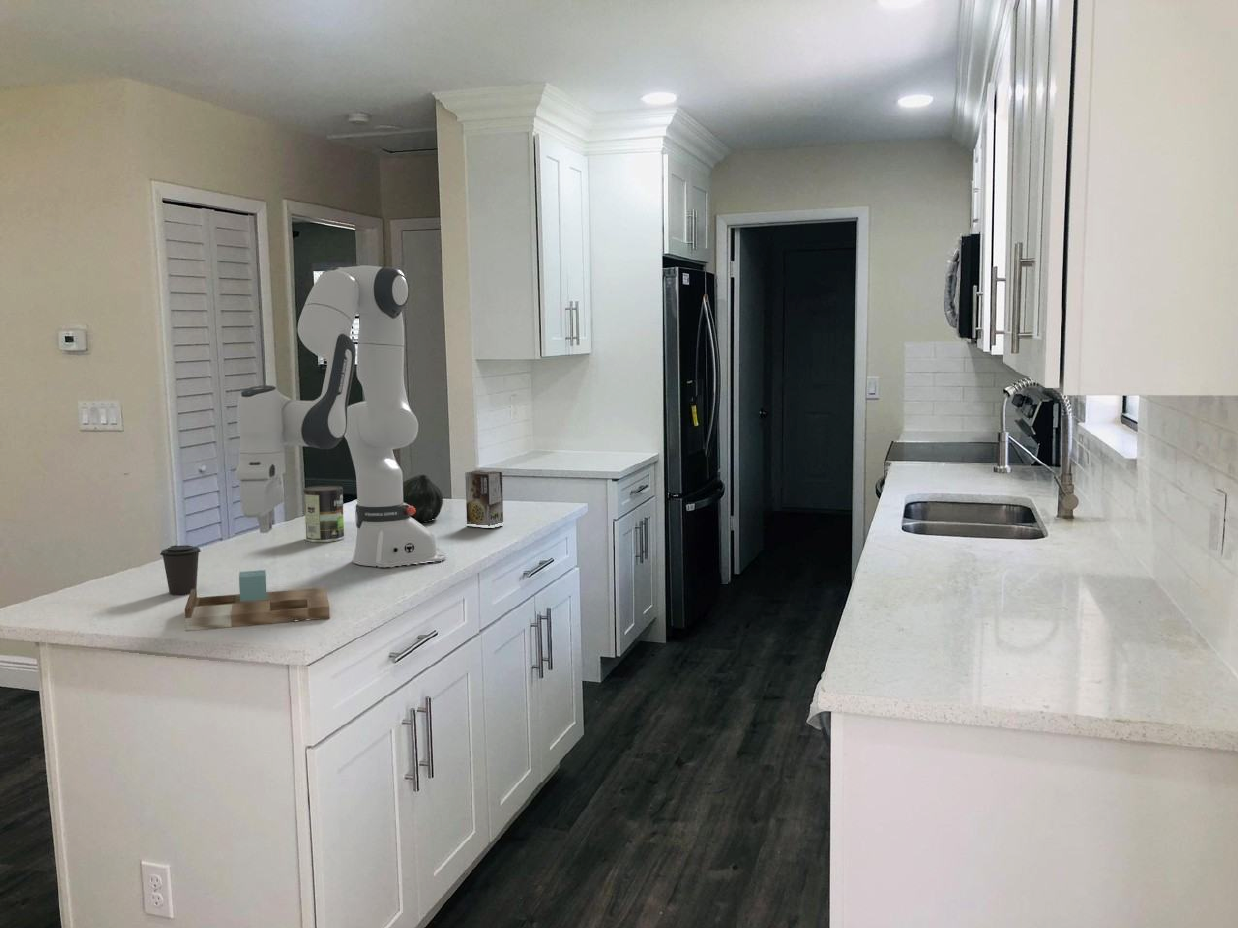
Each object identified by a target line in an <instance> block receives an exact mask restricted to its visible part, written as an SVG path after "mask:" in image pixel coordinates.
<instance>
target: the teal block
mask: <svg viewBox="0 0 1238 928" xmlns="http://www.w3.org/2000/svg"><path fill="white" fill-rule="evenodd" d="M238 573H239V575H238V580H239V581H238V585H239V589H238V590H239V594H240V602H246V601H259V600H267V593H266V592H267V576H266V575H267V574H266V573H267V572H266V569H262V570H248V571H239V572H238Z"/></svg>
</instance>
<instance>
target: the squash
mask: <svg viewBox="0 0 1238 928" xmlns="http://www.w3.org/2000/svg"><path fill="white" fill-rule="evenodd" d="M403 502H404V503H406V504H408V505H410V506H413V507H414V508H415V510H416V511H415V513H414V514H413V515H412V516H411V517H412V518H413V519H415V520H416V521H417V522H419V520H420V522H421V521H428V522H430V521H429V520H432V519H434V520H436V519H437V518H438V517H439V515H440V513H441V511H442V507H443V505H444V496H443V492H442V491H441V489H440V487H439V486H438V485H437V483H435V482H434V481H433V480H432V479H431V478H430V477H429V476H427V475H426V474H425V473H424V474H418V475H416V476H413V477H410V478H409V479H407V480H405V481H403ZM432 521H433V520H432Z"/></svg>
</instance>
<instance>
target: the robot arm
mask: <svg viewBox="0 0 1238 928" xmlns="http://www.w3.org/2000/svg"><path fill="white" fill-rule="evenodd" d="M409 296H410V285H409V281H408V278H407V277H406V276H405V274H404V272H403V271H401V270H400V269H397V268H395V267H390V266H383V267H382V266H376V265H363V264H362V265H358V266H357V265H356V266H347V267H340V266H335V267H331V268H328V269H326V270H325V271H323V272H322V273H321V274H320V276H319V277H318V278H317V280H316V282H315V283H314V284H313V286H312V288H311V290H310V291H309V294H308V296H307V298H306V299H305V303H304V306H303V308H302V311H301V314H300V315H299V319H298V323H297V334H298V338H299V340H300V341H301V342H302V344H303V345H304V347H305V348H306V349H307V350H309V352H311V353H313V354H315V356H317V357H320V358H321V359H324V360H326V369H325V375H324V380H323V386H322V392H321V395H320V396H318V398H316V399H314V400H299V399H292V398H289V397H288V396H285V395H283V394H282V393H281V392H280V391H279V389H278V388H277V387H276V386H273V385H266V384H265V385H257V386H251V387H248V388H245V389H244V390H242V391H241V392H240V394H239V395H238V400H237V406H236V408H237V409H236V412H237V413H236V425H237V428H236V429H237V433H238V436H239V447H238V448H239V449H238V465H237V466H236V470H235V479H236V480H238V481H239V484H238V486H239V488H238V489H239V498H240V505H241V511H242V515H243V517H244V518H245V519H246V518H248V519H249V518H251V519H253V518H254V519H255V518H256V519H257V522H258V525H259V526H258V527H259V533H261V534H267V533H269V532H270V531H272V529H273V518H274V509H275V508H276V507H278V506H279V505H280V504H282V503H283V502H284V501H285V489H284V487H285V486H284V478H283V474H286V459H285V446H294V447H296V446H297V447H310V448H315V449H320V450H321V449H322V450H330V449H333V448H335V447H336V446H337V445H338V444H340V442H341V441H342V439H343V438H345V440H346V441H347V445H348V448H349V451H350V454H351V459H352V462H353V467H354V471H355V479H356V482H355V483H356V484H355V485H356V498H357V499H356V503H357V504H355V510H354V515H355V516H354V517H355V519H354V521H355V527H356V539H355V548H354V553H353V557H352V560H351V562H352V563H353V564H355V565H356V564H357V565H359V566H366V567H367V566H369V567H376V566H378V567H377V568H380V567H390V568H396V567H395V566H399V567H402V566H401V565H407V566H409V565H408V564H414V563H420V562H426V561H441V560H443V559H444V558H445V557H446V553H445V551H443V550H442V549H440V548H437V544H436V543H437V542H436V538H435V536H434V533H433V532H432V531H431V530H430V529H428V528H427V527H425V526H424V525H423V524H422V523H420V522H419V521H416V520H415V519H413V518H412V517H411V516H412V515H413V514H414V513H415V511H416V510H415V508H414V507H413V506H410V505H408V504H406V503H404V502H403V482H404V481H403V479H404V478H403V471H402V469H401V467H400V465H399V464H398V462H397V460H396V458H395V455H394V451H393V450H396V449H398V450H399V449H402V448H405V447H407V446H409V445H410V444H412V443H413V442H414V441H415V439H416V438H417V435H418V433H419V422H418V419H417V417H416V415H415V414H414V412H413V411H412V409H411V407H410V403H409V399H408V395H407V391H406V387H405V378H404V377H405V375H404V374H405V373H404V372H405V369H404V367H405V365H404V364H405V326H404V317H403V312H402V311H403V310H404V309H405V307H406V305H407V303H408V300H409ZM357 315H359V317H360V318H359V319H360V320H359V325H358V333H357V345H355V342H354V341H353V339H351V332H352V327H353V324H354V322H355V317H356V316H357ZM356 346H357V348H356ZM356 349H357V350H356ZM355 364H356V371H355V372H356V378H357V380H358V381H359V383H360V385H361V387H362V391H363V395H364V401H359V402H356V403H353V404H350V405H349V401H350V400H349V399H350V394H351V389H352V383H353V377H354V370H355ZM284 445H285V446H284ZM445 559H446V558H445ZM443 561H444V560H443ZM441 562H442V561H441Z"/></svg>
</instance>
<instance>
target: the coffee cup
mask: <svg viewBox="0 0 1238 928" xmlns="http://www.w3.org/2000/svg"><path fill="white" fill-rule="evenodd" d="M200 552H202V551H201V549H200V548H199V547H197V546H192V545H187V544H186V545H185V544H184V545H171V546H170V547H168V548H165V549H163V550H161V552H160V553H159V554H160V556H162V558H163V559H162V560H163V563H164V564H163V565H164V570H165V575H166V581H167V588H168V593H169V594H170V595H171V596H185V595H190V592H191V589H197V584H198V570H199V568H198V567H199V557H200V556H199V555H200V554H199V553H200Z"/></svg>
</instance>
